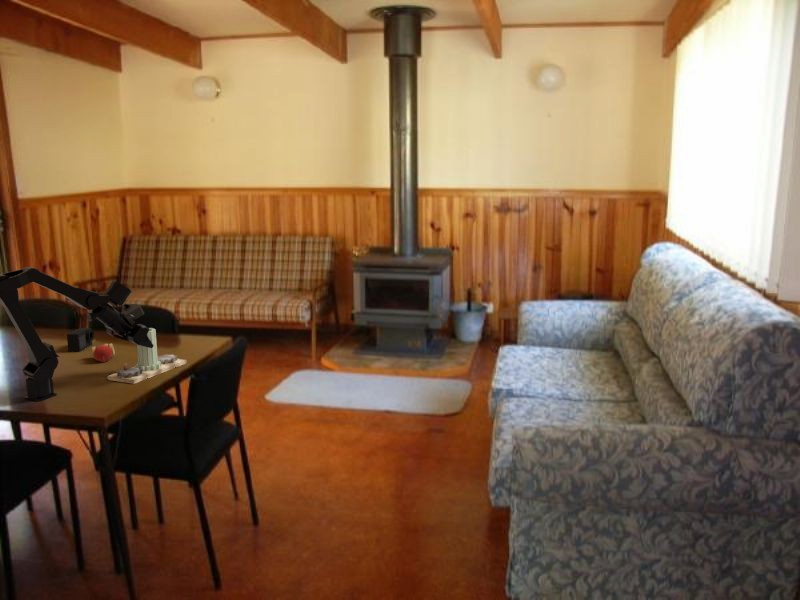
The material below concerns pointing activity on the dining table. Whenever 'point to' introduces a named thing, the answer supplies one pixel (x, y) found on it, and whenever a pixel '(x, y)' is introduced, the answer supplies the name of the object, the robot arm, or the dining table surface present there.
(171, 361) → the gear board
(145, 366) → the gear sleeve
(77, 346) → the digital camera
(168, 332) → the dining table surface
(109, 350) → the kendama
